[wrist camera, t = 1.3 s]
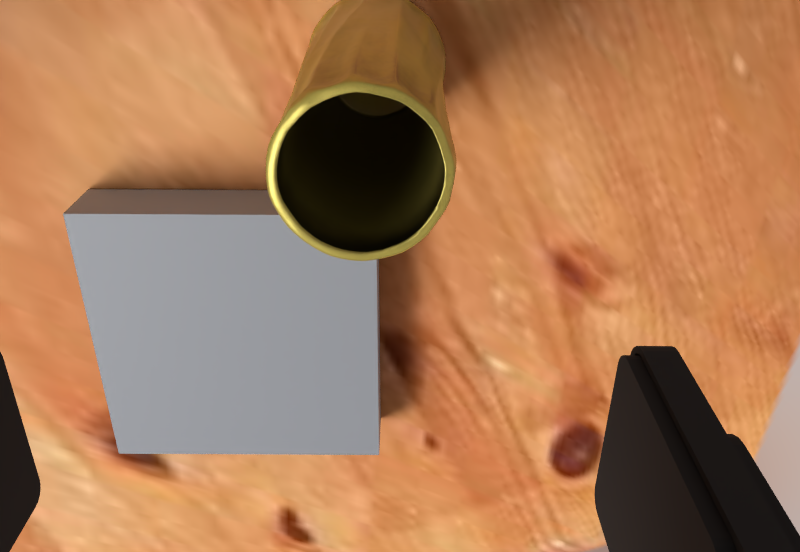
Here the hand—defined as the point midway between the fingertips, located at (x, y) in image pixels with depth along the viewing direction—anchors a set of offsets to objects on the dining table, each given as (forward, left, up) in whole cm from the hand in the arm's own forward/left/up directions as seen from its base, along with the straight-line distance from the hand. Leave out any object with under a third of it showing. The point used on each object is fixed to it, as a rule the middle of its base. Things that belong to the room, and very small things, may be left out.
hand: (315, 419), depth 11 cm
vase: (0, 0, -24) cm, 24 cm away
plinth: (+13, -7, -24) cm, 28 cm away
